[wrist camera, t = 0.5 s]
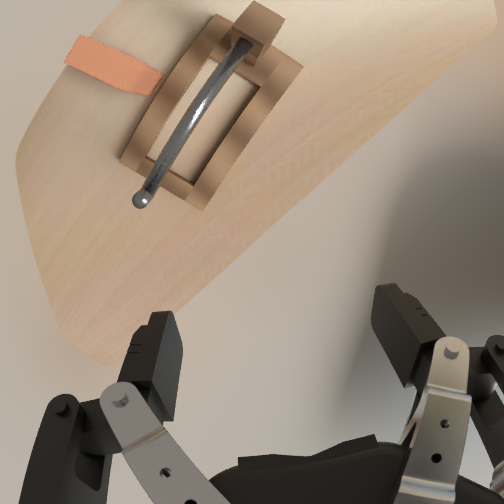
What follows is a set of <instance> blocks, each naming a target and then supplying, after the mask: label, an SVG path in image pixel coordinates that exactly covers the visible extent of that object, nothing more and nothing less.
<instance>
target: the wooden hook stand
mask: <svg viewBox="0 0 504 504" xmlns="http://www.w3.org/2000/svg"><path fill="white" fill-rule="evenodd" d="M284 21H285V18H283V17H281V16H280V15H278V14H276V13H275V12H273V11H271V10H270V9H268V8H266V7H264V6H263V5H261V4H259V3H257V2H255V1H253V2H252V3H251V4H250V5H249V6H248V7H247V9H246V10H245V11H244V12H243V13H242V14H241V15H240V17H239V18H238V19H237V20H236V21H235V23H233V22H231V21H229V20H227V19H225V18H224V17H222V16H220V15H218V14H215V15H214V17H213V18H212V19H211V20H210V22H209V23H208V24H207V25H206V26H205V28H204V29H203V30H202V31H201V33H200V34H199V35H198V37H197V38H196V39H195V41H194V42H193V43H192V45H191V46H190V47H189V49H188V50H187V51H186V53H185V54H184V55H183V57H182V58H181V60H180V61H179V62H178V64H177V65H176V67H175V68H174V70H173V71H172V73H171V74H170V75H169V77H168V78H167V80H166V81H165V83H164V85H163V86H162V88H161V89H160V91H159V92H158V94H157V95H156V97H155V99H154V100H153V102H152V104H151V105H150V107H149V108H148V110H147V112H146V113H145V115H144V117H143V119H142V120H141V122H140V124H139V126H138V127H137V129H136V131H135V133H134V134H133V136H132V138H131V140H130V142H129V144H128V146H127V147H126V149H125V151H124V153H123V155H122V157H121V159H120V161H119V162H120V163H121V164H123V165H125V166H127V167H128V168H130V169H132V170H133V171H135V172H137V173H139V174H140V175H142V176H144V177H145V178H147V176H148V175H149V173H150V171H151V169H152V167H153V166H154V164H155V162H156V161H154V160H152V159H150V158H149V157H147V154H148V152H149V150H150V148H151V147H152V145H153V143H154V141H155V140H156V138H157V136H158V135H159V133H160V131H161V130H162V128H163V126H164V125H165V123H166V121H167V120H168V118H169V116H170V115H171V113H172V112H173V110H174V108H175V107H176V105H177V104H178V102H179V101H180V99H181V98H182V96H183V95H184V93H185V92H186V90H187V89H188V87H189V86H190V84H191V83H192V81H193V80H194V78H195V77H196V76H197V74H198V73H199V71H200V70H201V69H202V67H203V66H204V64H205V63H206V62H207V60H208V59H209V58H211V59H213V60H215V61H217V62H218V63H220V62H221V61H222V59H223V58H224V57H225V55H226V54H227V53H228V52H229V50H230V49H231V48H232V46H233V45H234V44H235V43H236V41H237V40H238V39H239V38H240V37H242V38H245V39H247V40H248V41H250V42H251V43H252V44H253V47H252V48H251V50H250V51H249V52H248V53H247V55H246V56H245V57H244V59H243V60H242V61H241V63H240V64H239V65H238V66H237V68H236V69H235V71H234V72H236V73H237V74H239V75H241V76H242V77H244V78H245V79H247V80H249V81H250V82H252V83H253V84H255V85H257V86H258V87H260V89H259V90H258V91H257V93H256V94H255V96H254V97H253V98H252V100H251V101H250V102H249V104H248V105H247V107H246V108H245V109H244V111H243V112H242V114H241V115H240V116H239V118H238V119H237V121H236V122H235V124H234V125H233V127H232V128H231V129H230V131H229V132H228V134H227V135H226V137H225V138H224V140H223V141H222V143H221V144H220V146H219V147H218V149H217V150H216V152H215V153H214V155H213V156H212V158H211V160H210V161H209V163H208V164H207V166H206V167H205V169H204V170H203V172H202V174H201V175H200V177H199V178H198V180H197V182H196V183H195V184H193V183H191V182H190V181H188V180H186V179H185V178H183V177H181V176H179V175H178V174H176V173H174V172H173V171H171V170H169V171H168V172H167V174H166V176H165V178H164V179H163V181H162V183H161V185H160V186H161V187H163V188H164V189H166V190H168V191H169V192H171V193H173V194H174V195H176V196H178V197H180V198H181V199H183V200H185V201H186V202H188V203H190V204H191V205H193V206H195V207H196V208H198V209H200V210H202V211H203V210H204V209H205V207H206V205H207V204H208V202H209V201H210V199H211V198H212V196H213V194H214V193H215V191H216V190H217V188H218V187H219V185H220V184H221V182H222V181H223V179H224V178H225V176H226V175H227V173H228V172H229V170H230V169H231V167H232V166H233V164H234V163H235V161H236V160H237V158H238V157H239V155H240V154H241V152H242V151H243V150H244V148H245V147H246V145H247V144H248V142H249V141H250V139H251V138H252V137H253V135H254V134H255V132H256V131H257V129H258V128H259V127H260V125H261V124H262V122H263V121H264V120H265V118H266V117H267V115H268V114H269V113H270V111H271V110H272V109H273V107H274V106H275V105H276V103H277V102H278V100H279V99H280V98H281V96H282V95H283V94H284V92H285V91H286V90H287V88H288V87H289V86H290V84H291V83H292V82H293V80H294V79H295V78H296V76H297V75H298V74H299V73H300V71H301V70H302V69H303V67H304V66H302V65H301V64H300V63H298V62H297V61H295V60H294V59H292V58H291V57H289V56H288V55H286V54H285V53H283V52H282V51H280V50H279V49H277V48H276V47H274V46H272V45H271V43H272V42H273V40H274V38H275V36H276V35H277V33H278V31H279V29H280V28H281V26H282V24H283V23H284Z"/></svg>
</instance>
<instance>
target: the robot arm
mask: <svg viewBox="0 0 504 504" xmlns="http://www.w3.org/2000/svg"><path fill="white" fill-rule="evenodd" d="M371 324H372V328H373V331H374V333H375V334H376V336H377V338H378V340H379V342H380V343H381V345H382V347H383V349H384V351H385V353H386V354H387V356H388V358H389V360H390V362H391V364H392V366H393V368H394V370H395V371H396V373H397V375H398V377H399V379H400V381H401V383H402V385H403V387H404V388H408V387H411V386H414V385H415V387H416V389H417V390H416V392H415V395H414V398H413V402H412V405H411V408H410V412H409V415H408V418H407V421H406V424H405V427H404V430H403V432H402V435H401V437H400V439H399V442H398V443H397V444H395V443H390V442H377V440H376V437H375V435H374V434H373V435H369V436H365V437H361V438H357V439H353V440H349V441H345V442H342V443H340V444H337V445H336V446H333V447H331V448H329V449H327V450H324V451H322V452H320V453H317V454H315V455H312V456H290V455H277V454H269V455H260V456H249V457H238V466H235V467H232V468H229V469H226V470H224V471H222V472H220V473H218V474H217V475H215V476H214V477H212V478H211V479H210V480H207V478H205V476H204V475H203V474H202V473H201V472H200V470H199V469H198V468H197V467H196V466H195V465H194V463H193V462H192V461H191V460H190V459H189V457H188V456H187V455H186V454H185V453H184V452H183V450H182V449H181V448H180V446H179V445H178V444H177V443H176V441H175V440H174V439H173V437H172V436H171V435H170V434H169V432H168V431H167V430H166V429H165V428H164V427H163V422H164V421H173V420H174V411H175V404H176V397H177V390H178V383H179V375H180V370H181V363H182V356H183V346H182V340H181V337H180V334H179V331H178V328H177V325H176V321H175V318H174V315H173V313H172V311H160V312H152V314H151V316H150V319H149V322H148V325H141V326H140V327H139V329H138V330H137V331H136V332H135V333H134V334H133V337H132V339H131V342H130V346H129V348H128V351H127V354H126V356H125V359H124V363H123V365H122V368H121V371H120V374H119V377H118V380H117V383H114V384H112V385H110V386H109V387H107V388H106V389H105V390H104V391H103V393H102V394H101V397H100V398H99V399H95V400H90V401H86V402H81V403H79V401H78V400H77V399H76V398H75V397H74V396H73V395H70V394H61V395H58V396H56V397H55V398H53V399H52V400H51V401H50V402H49V404H48V406H47V408H46V411H45V413H44V417H43V419H42V422H41V425H40V428H39V431H38V434H37V437H36V440H35V443H34V446H33V449H32V453H31V456H30V460H29V463H28V467H27V471H26V474H25V479H24V482H23V487H22V491H21V495H20V500H19V504H106V502H107V493H108V485H109V477H110V469H111V463H112V456H113V454H116V453H121V452H122V454H123V456H124V458H125V460H126V461H127V463H128V465H129V467H130V468H131V470H132V471H133V473H134V475H135V476H136V478H137V479H138V481H139V483H140V484H141V486H142V487H143V489H144V490H145V492H146V493H147V494H148V496H149V497H150V499H151V500H152V502H153V503H154V504H504V405H503V403H502V401H501V399H500V398H499V396H498V394H497V392H496V391H495V388H496V387H497V385H498V386H499V387H500V389H501V391H502V392H503V394H504V336H501V335H494V336H491V337H489V338H488V340H487V342H486V344H485V346H484V347H468V346H467V345H466V344H465V343H464V342H463V341H462V340H460V339H458V338H455V337H447V336H446V335H445V334H444V332H443V331H442V330H441V328H440V327H439V326H438V325H437V323H436V322H435V321H434V319H433V318H432V317H431V316H430V315H429V314H428V312H427V311H426V309H425V308H423V306H422V304H421V303H420V302H419V301H418V300H417V299H416V298H415V297H413V296H412V295H410V294H408V293H403V292H402V291H401V289H400V288H399V287H398V286H397V284H395V283H389V284H384V285H378V286H376V288H375V294H374V301H373V307H372V314H371ZM469 416H471V418H472V420H473V422H474V424H475V427H476V429H477V431H478V433H479V435H480V437H481V439H482V442H483V444H484V446H485V448H486V450H487V453H488V455H489V458H490V460H491V462H492V465H493V467H494V472H493V475H492V481H491V483H490V489H488V488H486V487H484V486H482V485H480V484H477V483H475V482H473V481H471V480H469V479H467V478H465V477H463V476H461V475H459V474H458V473H459V469H460V465H461V460H462V456H463V451H464V446H465V441H466V436H467V430H468V424H469Z"/></svg>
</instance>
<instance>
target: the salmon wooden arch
mask: <svg viewBox="0 0 504 504" xmlns="http://www.w3.org/2000/svg"><path fill="white" fill-rule="evenodd" d="M64 63H66V64H68V65H70V66H72V67H74V68H77V69H79V70H81V71H83V72H85V73H87V74H89V75H91V76H93V77H95V78H97V79H99V80H101V81H103V82H105V83H107V84H109V85H111V86H113V87H115V88H117V89H120V90H125V91H129V92H134V93H139V94H143V95H147V96H150V95H151V93H152V92H153V90H154V89H155V87H156V85H157V84H158V82H159V81H160V79H161V78H162V76H163V74H161V73H159V72H158V71H156V70H154V69H153V68H151V67H149V66H148V65H146V64H144V63H142V62H141V61H139V60H137V59H135V58H133V57H131V56H129V55H126V54H124V53H122V52H120V51H118V50H116V49H113V48H111V47H109V46H107V45H104V44H102V43H100V42H97V41H95V40H92V39H90V38H88V37H85V36H82V35H80V36H79V37H78V39H77V40H76V42H75V44H74V45H73V47H72V49H71V51H70V52H69V54H68V56H67V58H66V59H65V61H64Z"/></svg>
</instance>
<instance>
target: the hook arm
mask: <svg viewBox="0 0 504 504" xmlns="http://www.w3.org/2000/svg"><path fill="white" fill-rule="evenodd" d="M252 47H253V44H252V43H251V42H250V41H248V40H247V39H245V38H242V37H240V38H239V39H238V40H237V41H236V43H235V44H234V45H233V46H232V48H231V49H230V50H229V52H228V53H227V54H226V55H225V57H224V58H223V59H222V61H221V62H220V63H219V65H218V66H217V67H216V69H215V70H214V72H213V73H212V74H211V76H210V77H209V79H208V80H207V81H206V83H205V84H204V86H203V87H202V89H201V90H200V91H199V93H198V94H197V96H196V97H195V99H194V100H193V102H192V103H191V105H190V106H189V108H188V109H187V111H186V112H185V114H184V116H183V117H182V119H181V120H180V122H179V123H178V125H177V127H176V128H175V130H174V131H173V133H172V135H171V136H170V138H169V140H168V141H167V143H166V145H165V146H164V148H163V150H162V152H161V153H160V155H159V157H158V158H157V160H156V162H155V164H154V166H153V167H152V169H151V171H150V173H149V175H148V176H147V178H146V180H145V182H144V184H143V186H142V188H141V189H140V190H139V191H138V192H137V193H136V194H135V195H134V196H133V198H132V203H133V205H134V206H135V207H136V208H139V209H142V208H144V207H146V206H147V204H148V203H149V202H150V201H151V200H152V199H153V197H154V195H155V194H156V192H157V190H158V188H159V186H160V185H161V183H162V181H163V179H164V178H165V176H166V174H167V172H168V171H169V169H170V167H171V165H172V164H173V162H174V160H175V159H176V157H177V155H178V154H179V152H180V150H181V149H182V147H183V146H184V144H185V142H186V141H187V139H188V138H189V136H190V134H191V133H192V131H193V130H194V128H195V127H196V125H197V124H198V122H199V121H200V119H201V117H202V116H203V114H204V113H205V111H206V110H207V109H208V107H209V106H210V104H211V103H212V101H213V100H214V98H215V97H216V95H217V94H218V93H219V91H220V90H221V88H222V87H223V86H224V84H225V83H226V81H227V80H228V79H229V77H230V76H231V75H232V73H233V72H234V71H235V69H236V68H237V66H238V65H239V64H240V63H241V61H242V60H243V59H244V57H245V56H246V55H247V53H248V52H249V51H250V50H251V48H252Z"/></svg>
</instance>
